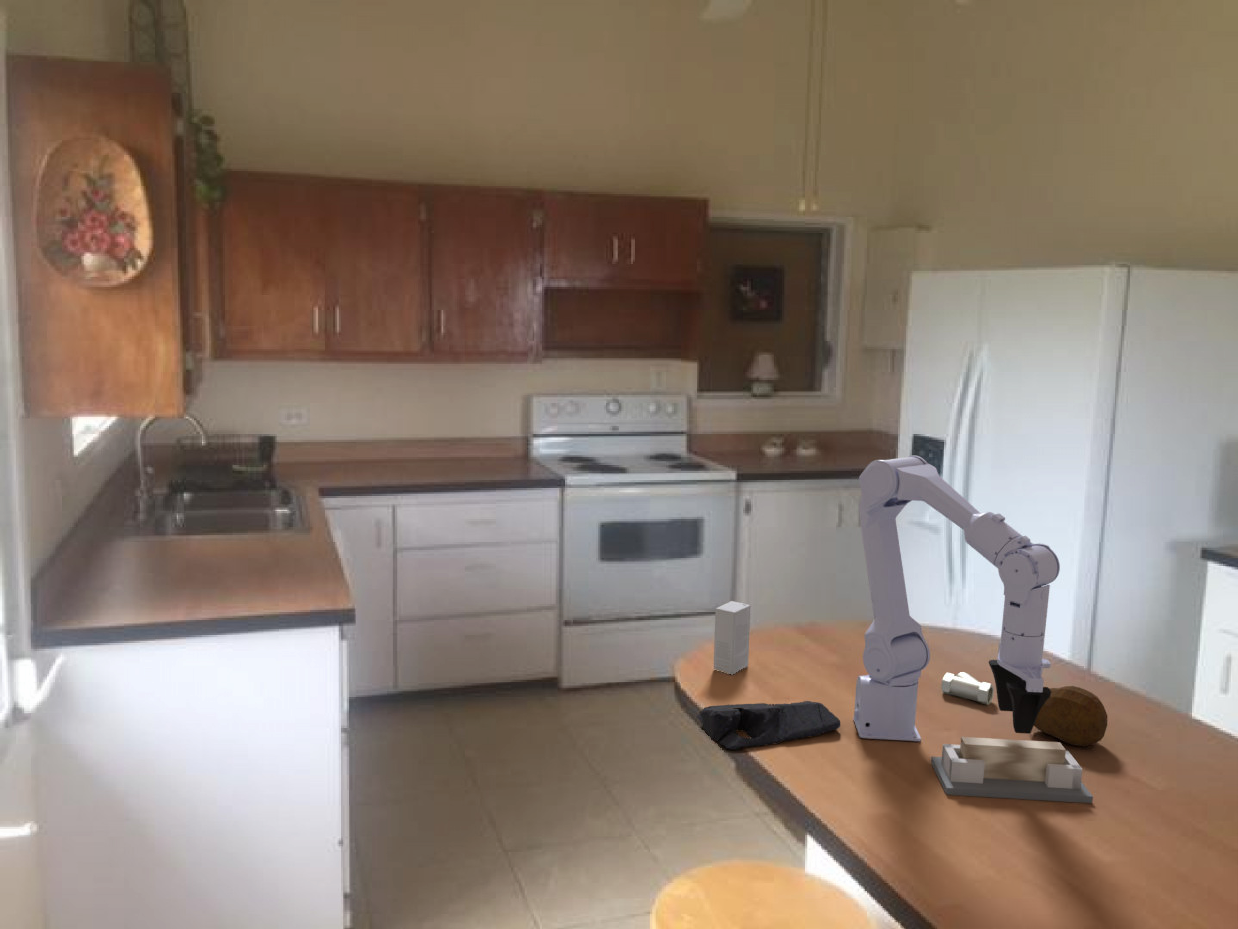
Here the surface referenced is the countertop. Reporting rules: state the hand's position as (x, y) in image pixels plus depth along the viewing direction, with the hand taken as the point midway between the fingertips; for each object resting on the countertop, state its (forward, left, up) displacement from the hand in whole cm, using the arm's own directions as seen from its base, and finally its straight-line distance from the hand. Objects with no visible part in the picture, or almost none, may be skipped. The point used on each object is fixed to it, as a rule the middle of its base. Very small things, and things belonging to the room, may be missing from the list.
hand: (1014, 721), depth 151 cm
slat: (0, 0, -8) cm, 8 cm away
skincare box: (-39, +40, -10) cm, 57 cm away
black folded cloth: (-33, +15, -10) cm, 38 cm away
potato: (+14, +17, -10) cm, 24 cm away
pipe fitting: (+3, +33, -10) cm, 35 cm away
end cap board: (0, 0, -9) cm, 9 cm away
